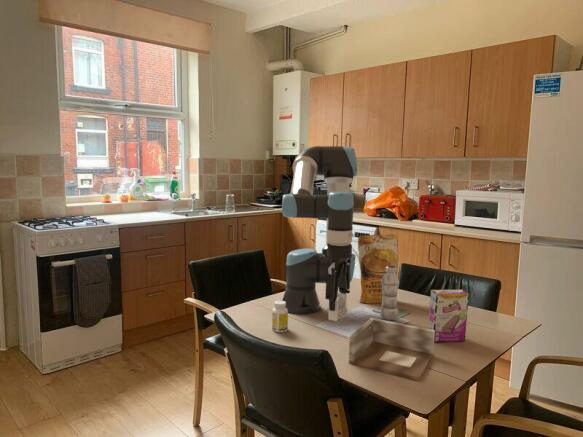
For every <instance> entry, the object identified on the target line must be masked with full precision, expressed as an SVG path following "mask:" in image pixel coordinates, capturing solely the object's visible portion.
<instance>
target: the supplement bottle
mask: <svg viewBox="0 0 583 437" xmlns="http://www.w3.org/2000/svg"><path fill="white" fill-rule="evenodd" d="M273 304H274V305H273V308H272V310H271V321H272V322H271V330H272V331H273V332H275V333H285V332H287V331H288V328H289V327H288V325H289V324H288V323H289V312H288V309H287V308H285V307H286V302H285V301H282V300H275V301H274V303H273Z"/></svg>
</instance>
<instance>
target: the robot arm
mask: <svg viewBox="0 0 583 437" xmlns="http://www.w3.org/2000/svg"><path fill="white" fill-rule="evenodd" d="M292 163H293V164H292V172H293V176H292V177H293V178H292V182H291V183H292V184H291V188H290V193H287V194H283V195H282V201H281V211H282V212H281V213H282V216H283V217H284V218H293V219H326V232H325V234H326V238H325V239H326V240H325V245H324V246H323V247H322V248H321V249H322V250H321V252H318V251H317V249H315V248H311V247H310V248H307V247H306V248H299V249H295V250H291V251H289V252H288V254H287V255H286V263H285V265H286V274H285V275H286V277H285V278H286V283H285V290H284V295H283V297H282V300H281V301H285V302H286V307H285V308H287V309H288V313H290V314H298V315H300V314H301V315H302V314H303V315H305V314H313V313H316V312H318V311H319V310H320V309H321V308H320V304H321V303H320V299H319V295H318V294H317V292H318V291H317V288H316V287H317V286H316V284H325V300H328V307H329V311H328V313H329V315H327V317H328V318H327V319H328V320H329V321H334V322H339V321H338V320H339V318H338V300H337V295H339V294H341V297H342V298H343V300H344V301H345V303H344V306H345V307H346V308H347V294H350V293H351V291H350V288H351V282H352V281H353V277H354V272H355V266H356V257H357V256H356V254H354V253H353V245H352V242H353V237H354V236H355V235H354V233H353V229H354V228H353V227H354V226H353V222H354V206H355V201H354V193H353V192H351V191H350V184H351V183H352V182H353V181H354V178H355V177H356V176H357V175H358V163H357V154H356V150H355V149H354V148H353V147H352V146H343V145H341V146H340V145H339V146H338V145H335V146H333V145H332V146H329V145H327V146H326V145H324V146H322V145H321V146H320V145H316V146H310V147H308V148H306V149H304V150H303V151H301V152H299V154H298V155H297V156H296V157H295V159H294V161H293V162H292ZM315 176H322V177H323V180H324V182H325V183H326V185H327V193H326V194H314V182H315Z"/></svg>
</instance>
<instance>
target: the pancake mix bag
mask: <svg viewBox="0 0 583 437" xmlns="http://www.w3.org/2000/svg"><path fill="white" fill-rule="evenodd" d="M398 242H399V240H398V236H396V234H366V235H360V236H358V237H357V250H358V251H357V252H358V261H359V264H358V265H359V270H360V286H361V287H360V288H361V292H360V293H361V296H360V300H359V303H363V304H382V295H383V294H382V283H381V280H382V277H383V276H384V274H385V273H386V271H385V270H386V266H395V267H396V272H395V274H396V275H397V276H398V274H399V273H398V272H399V271H398V270H399V246H398V245H399V243H398Z"/></svg>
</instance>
